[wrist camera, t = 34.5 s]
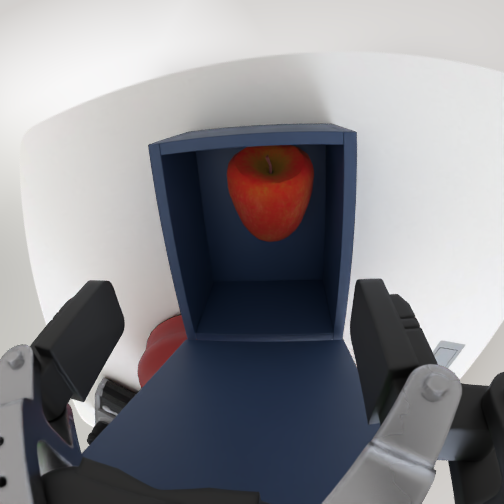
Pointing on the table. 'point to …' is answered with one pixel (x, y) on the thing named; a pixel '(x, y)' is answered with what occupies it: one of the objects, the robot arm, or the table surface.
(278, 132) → the box
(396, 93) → the table surface
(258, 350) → the lid
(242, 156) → the apple
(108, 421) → the camera
